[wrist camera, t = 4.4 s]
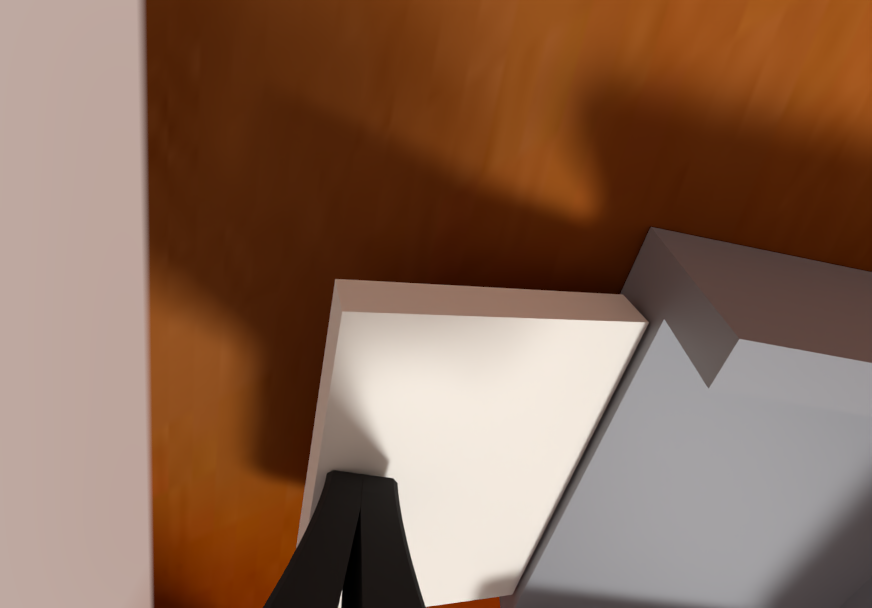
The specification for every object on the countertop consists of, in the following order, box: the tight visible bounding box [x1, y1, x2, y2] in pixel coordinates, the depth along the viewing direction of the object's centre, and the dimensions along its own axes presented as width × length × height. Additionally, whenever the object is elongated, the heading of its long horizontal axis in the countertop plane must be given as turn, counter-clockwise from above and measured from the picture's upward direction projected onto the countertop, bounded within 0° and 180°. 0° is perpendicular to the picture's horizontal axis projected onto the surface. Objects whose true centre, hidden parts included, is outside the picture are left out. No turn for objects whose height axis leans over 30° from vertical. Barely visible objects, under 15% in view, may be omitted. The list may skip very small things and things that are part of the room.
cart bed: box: [499, 227, 872, 608], centre depth 13 cm, size 10×12×6 cm
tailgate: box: [296, 279, 649, 608], centre depth 13 cm, size 1×9×6 cm
